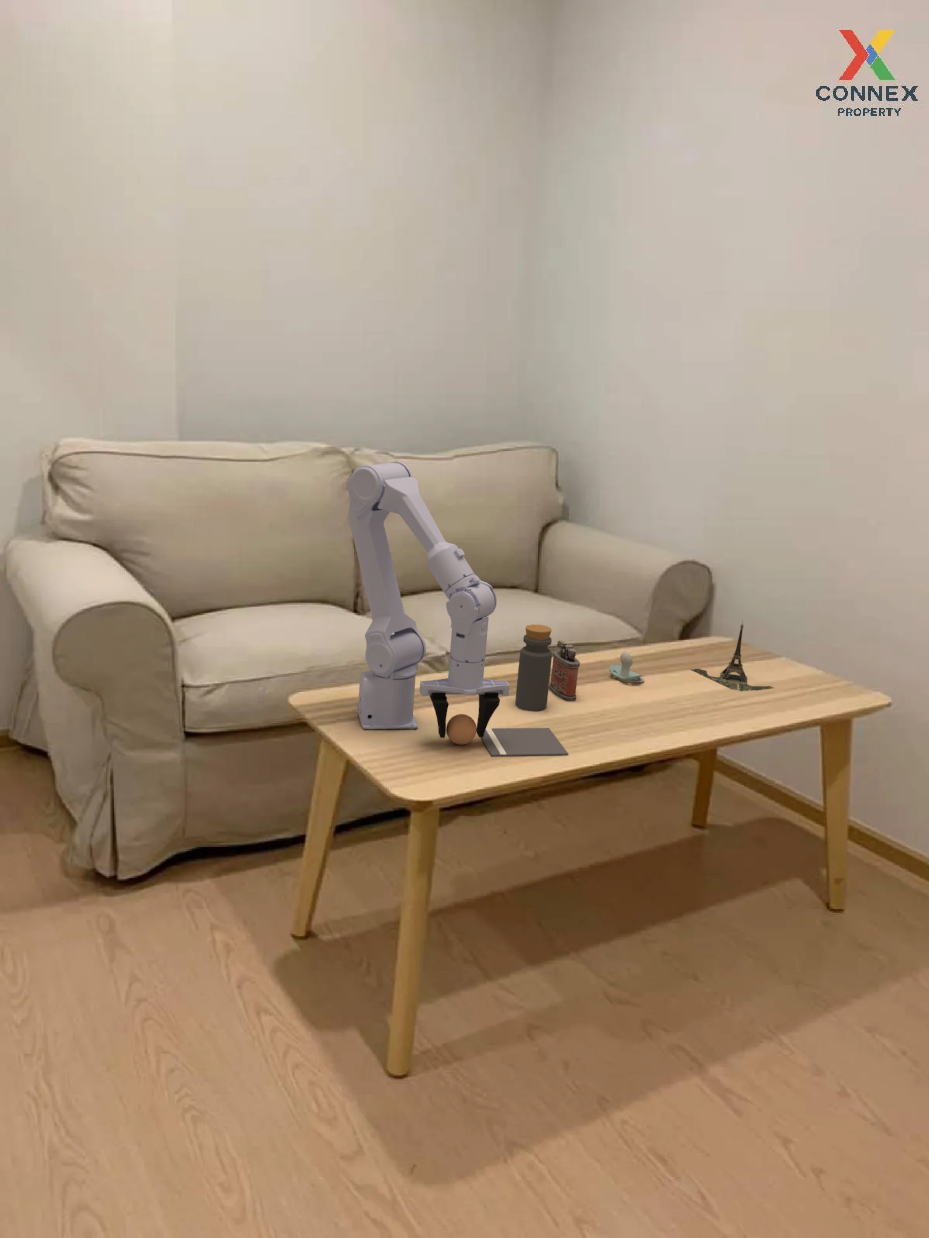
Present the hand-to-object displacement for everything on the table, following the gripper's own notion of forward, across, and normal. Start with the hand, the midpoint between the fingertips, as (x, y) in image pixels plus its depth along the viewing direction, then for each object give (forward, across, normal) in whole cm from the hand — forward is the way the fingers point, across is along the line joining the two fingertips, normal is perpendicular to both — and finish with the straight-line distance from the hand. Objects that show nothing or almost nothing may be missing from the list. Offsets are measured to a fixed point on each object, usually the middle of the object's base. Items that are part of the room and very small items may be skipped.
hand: (460, 735), depth 168 cm
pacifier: (+2, +42, +31) cm, 52 cm away
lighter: (+2, +25, +23) cm, 34 cm away
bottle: (+2, +17, +17) cm, 24 cm away
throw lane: (+1, +10, 0) cm, 11 cm away
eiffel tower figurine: (+2, +65, +32) cm, 73 cm away
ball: (+1, 0, 0) cm, 1 cm away
